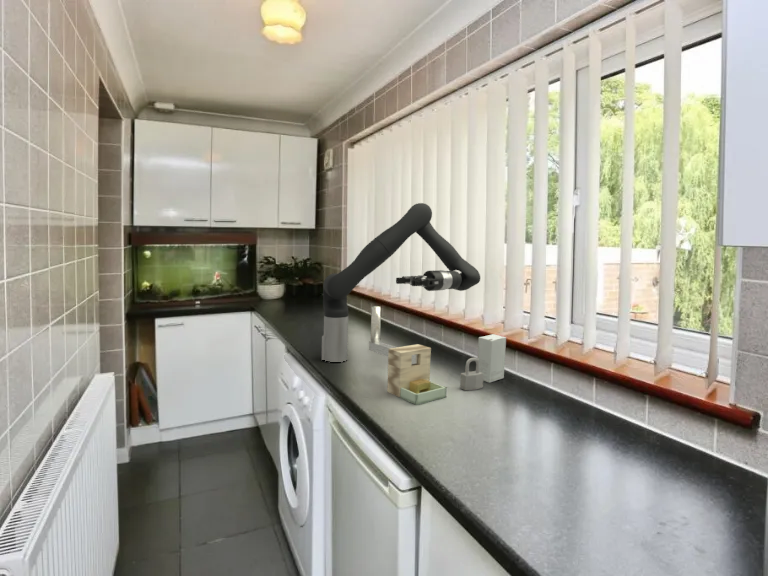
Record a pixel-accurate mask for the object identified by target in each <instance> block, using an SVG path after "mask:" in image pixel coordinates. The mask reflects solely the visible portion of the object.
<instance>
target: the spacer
mask: <svg viewBox="0 0 768 576" xmlns="http://www.w3.org/2000/svg"><path fill="white" fill-rule="evenodd" d="M430 381H431V380H430ZM430 381H427V380H425V379H419V380H415V381H411V382H410V391H411V392H414V393H416V394H418V393H420V391H421V392H427V391H430V383H431V382H432V381H431V382H430Z"/></svg>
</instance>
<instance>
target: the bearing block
mask: <svg viewBox="0 0 768 576" xmlns="http://www.w3.org/2000/svg"><path fill="white" fill-rule="evenodd" d="M396 347H397V346H396ZM431 351H432V348H431V347H430V346H426V345H423V344H418V343H416V344H411V345H404V346H398V347H397V348H390V349H389V353H388V357H387V361H388V362H387V389H386V391H387V393H389V394H392V395H393V396H396V397H398V398H400V395H401V388H404V389H407V390H409V391H410V382H411V381H415V380H419V379H425V380H427V381H431V380H430V378H431V356H432V353H431ZM415 354H418V362H417V364H412V365H411V363H412V355H415Z"/></svg>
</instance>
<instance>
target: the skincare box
mask: <svg viewBox="0 0 768 576" xmlns="http://www.w3.org/2000/svg"><path fill="white" fill-rule="evenodd" d="M506 346H507V337H506V336H501V335H499V334H495V333H494V334H493V333H492V334H489V335H485V336H479V337H478V345H477V347H478V348H477V359H478V360H479V364H480V365H479V372H481V373H483V382H487V383H492V382H496V381H498V380H499V381H500V380H502V379H504V378H505V376H504V375H505V365H506V363H505V361H506Z"/></svg>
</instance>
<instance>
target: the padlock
mask: <svg viewBox="0 0 768 576" xmlns="http://www.w3.org/2000/svg"><path fill="white" fill-rule="evenodd" d="M471 362H475V370H474V371H470V364H471ZM479 365H480V364H479V360H478V357H471V358H468V359H467V360H466V362H465V367H464V369H465V371H464V372H461V373H460V382H459V383H460V384H459V388H460V389H461V390H463V391H474V390H479V389H482V388H483V386H484V381H483V373H481V372H479Z"/></svg>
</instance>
